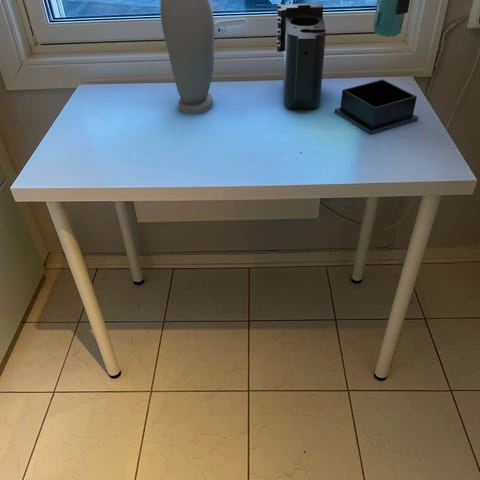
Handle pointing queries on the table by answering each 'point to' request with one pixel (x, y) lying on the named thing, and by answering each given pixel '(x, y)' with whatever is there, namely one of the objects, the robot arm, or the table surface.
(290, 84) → the black machined bracket
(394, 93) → the square planter
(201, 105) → the vase
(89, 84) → the table surface
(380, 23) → the beverage bottle
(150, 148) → the table surface
